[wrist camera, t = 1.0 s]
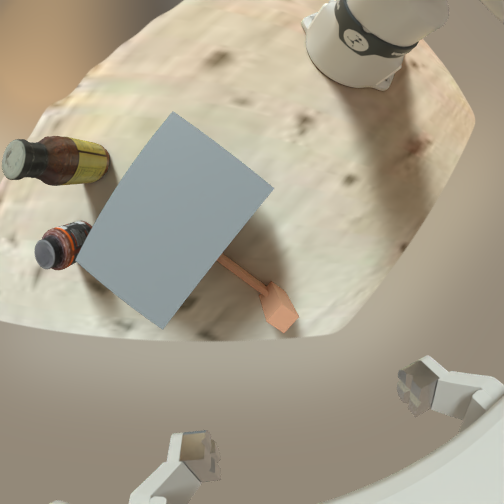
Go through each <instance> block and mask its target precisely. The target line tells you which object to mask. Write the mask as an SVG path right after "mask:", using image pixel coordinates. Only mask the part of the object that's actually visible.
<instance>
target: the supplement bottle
mask: <svg viewBox="0 0 504 504" xmlns="http://www.w3.org/2000/svg"><path fill="white" fill-rule="evenodd" d="M91 229H92V226H91V225H90V224H88V223H87V222H84V221H77V222H73V223H70V224H66V225H63V226H59V227H56V228H53V229H50V230H48V231H47V232H46V233H45V234H44V235H43V237H42V240H40V241H38V242H37V244H36V246H35V257H36V261H37V262H38V264H39V265H40V266H41V267H42V268H44V269H50V268H52V269H54V270H62V269H65V268H67V267H69V266H70V265H72V264H74V263H76V261H75V260H76V258H77V256H78V254H79V252H80V250H81V248H82V246H83V244H84V242H85V240H86V238H87V236H88V234H89V232H90V231H91Z"/></svg>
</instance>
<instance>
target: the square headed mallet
mask: <svg viewBox="0 0 504 504" xmlns="http://www.w3.org/2000/svg"><path fill="white" fill-rule="evenodd" d="M216 261H218V262H219V263H220V264H222V265H223V266H224V267H226V268H227V269H228V270H230V271H231V272H232V273H234V274H235V275H236V276H238V277H239V278H241V279H242V280H243V281H245V282H246V283H247V284H249V285H250V286H251V287H253V288H254V289H256V290H257V291H258V292H260V293H261V294H260V295H259V297H260V301H261V304H262V308H263V311H264V315H265V318H266V321H267V322H268V323H269V324H271V325H272V326H274V327H275V328H277V329H278V330H280V331H281V332H283V333H285V332H286V330H287V329H288V328H289V327H290V326H291V325H292V324H293V323H294V322H295V321H296V320H297V318H298V317H299V315H298V314H297V312H296V310H295V308H294V306H293V304H292V303H291V301H290V299H289V297H288V295H287V294H286V292H285V291H284V290H282V289H281V288H280V287H278V286H277V285H276V284H274V283H273V282H272V281H271V282H270V283H269V284H268V286H266V285H264V284H263V283H261V282H260V281H259V280H257V279H256V278H255V277H253V276H252V275H251V274H249V273H248V272H247V271H245V270H244V269H243V268H241V267H240V266H239V265H237V264H236V263H235V262H233V261H232V260H231V259H230V258H228V257H227V256H226V255H224V254H223V253H222V254H221V255H220V256H219V258H218V259H217V260H216Z"/></svg>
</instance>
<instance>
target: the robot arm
mask: <svg viewBox="0 0 504 504" xmlns="http://www.w3.org/2000/svg"><path fill="white" fill-rule="evenodd" d="M479 1H480V2H481V3H482V4H483V5H484V6H485V7H486V8H487V9H488V10H489V11H490V12H491V13H492V14H493V15H494V16H495V17H496V18H497V19H498V20H499V21H501V22H502V23H503V24H504V0H479ZM448 16H449V5H448V2H447V0H336V1H335V0H330V1H329V2H328V4H327V3H325V4H324V5H323V6H322V7H321V9H320V10H319V12H317V13H314V14H312V15H310V16H307V17H305V18H304V19H303V20H302V22H301V24H302V27H303V29H304V31H305V33H306V47H307V51H308V54H309V56H310V58H311V60H312V61H313V63H314V64H315V65H316V66H317V67H318V69H319V70H320V71H322V72H323V73H324V74H325V75H326V76H328V77H329V78H331V79H332V80H334V81H336V82H338V83H340V84H343V85H346V86H349V87H355V88H363V87H372V88H375V89H377V90H381V91H385V90H387V89H388V88H389V86H390V84H391V82H392V79H393V77H394V75H395V72H396V71H398V70H399V69H400V68H401V67H402V66H401V64H402V62H403V59H404V55H405V54H407V53H409V52H410V51H411V50H412V49H413V48H414V47H416V46H417V44H418V42H419V41H420V40H421V39H423V38H424V37H426V36H427V35H429V34H431V33H432V32H434V31H436V30H437V29H439V28H440V27H442V26H443V25H444V24H445V23H446V21H447V19H448ZM398 378H399V379H400V381H399V383H398V384H397V391H398V395H399V397H400V399H401V400H402V401H403V402H404V403H408V404H409V405H408V409H409V410H410V411H411V412H412V414H413V415H414V416H415V417H417V416H419V415H420V414H422V413H424V412H426V411H427V410H429V409H432V410H434V411H437V412H440V413H443V414H446V415H449V416H452V417H455V418H458V419H461V420H463V422H462V424H461V426H460V429H459V432H460V433H459V434H458V435H456V436H455V437H454V438H452V439H451V440H449V441H448V442H447V443H445V444H444V445H442V446H441V447H439V448H438V449H436V450H434V451H433V452H432V453H430V454H428V455H426V456H425V457H423V458H421V459H420V460H418V461H416V462H415V463H413V464H411V465H409V466H407V467H405V468H404V469H402V470H400V471H398V472H396V473H394V474H392V475H390V476H388V477H386V478H384V479H382V480H380V481H377V482H375V483H373V484H370V485H368V486H366V487H363V488H361V489H358V490H356V491H353V492H351V493H348V494H345V495H342V496H339V497H336V498H334V499H331V500H328V501H324V502H321V503H317V504H504V385H503V384H502V383H501V382H499V381H498V380H497V379H495V378H494V377H491V376H483V375H475V374H468V373H461V372H455V371H451V372H448V371H447V370H446V369H445V368H443V367H442V366H441V365H440V364H439V363H437V362H436V361H435V360H434V359H433V358H431V357H430V356H428V355H427V356H425V357H423V358H421V359H420V360H418V361H416V362H414V363H412V364H410V365H408V366H406V367H404V368H402V369H401V370H399V372H398ZM219 461H220V452H219V448H218V446H217V444H216V442H215V441H214V440H212V439H211V434H210V432H209V431H208V430H204V431H195V432H185V433H173V434H172V436H171V440H170V445H169V452H168V457H167V462H163V463H162V464H161V465H160V466H159V467H158V468H157V469H156V470H155V471H154V472H153V473H152V474H151V475H150V476H149V477H148V478H147V479H146V480H145V481H144V482H143V483H142V484H141V485H140V486H139V487H138V488H137V489H136V490H135V491H133V492H132V493H131V496H130V500H129V504H188V502H189V501H190V499H191V498H192V496H193V495H194V493H195V492H196V491H197V489H198V488H199V486H200V484H201V482H210V481H218V480H221V475H220V474H221V470H220V467H219V465H218V462H219ZM50 504H71V503H68V502H65V501H60V500H57V501H54V502H51V503H50Z"/></svg>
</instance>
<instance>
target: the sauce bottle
mask: <svg viewBox="0 0 504 504" xmlns="http://www.w3.org/2000/svg"><path fill="white" fill-rule="evenodd" d="M108 167H109V154H108V152H107V150H106V149H105V148H104V147H102V146H101V145H99V144H96V143H92V142H88V141H83V140H78V139H74V138H69V137H60V136H52V137H45V138H44V139H42V140H41V141H39V142H38V143H30V142H28V141H26V140H24V139H17V140H13V141H12V142H10V144H9V145H8V146H7V148H6V150H5V152H4V155H3V160H2V170H3V173H4V175H5V176H6V178H8V179H10V180H19V179H22V178H23V177H31V178H37V179H39V180H41V181H42V182H44V183H45V184H48V185H52V186H58V185H70V184H82V183H92V182H95V181H98V180H99V179H101V178H102V177H103V176H104V175H105V173H106V172H107V171H108Z"/></svg>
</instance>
